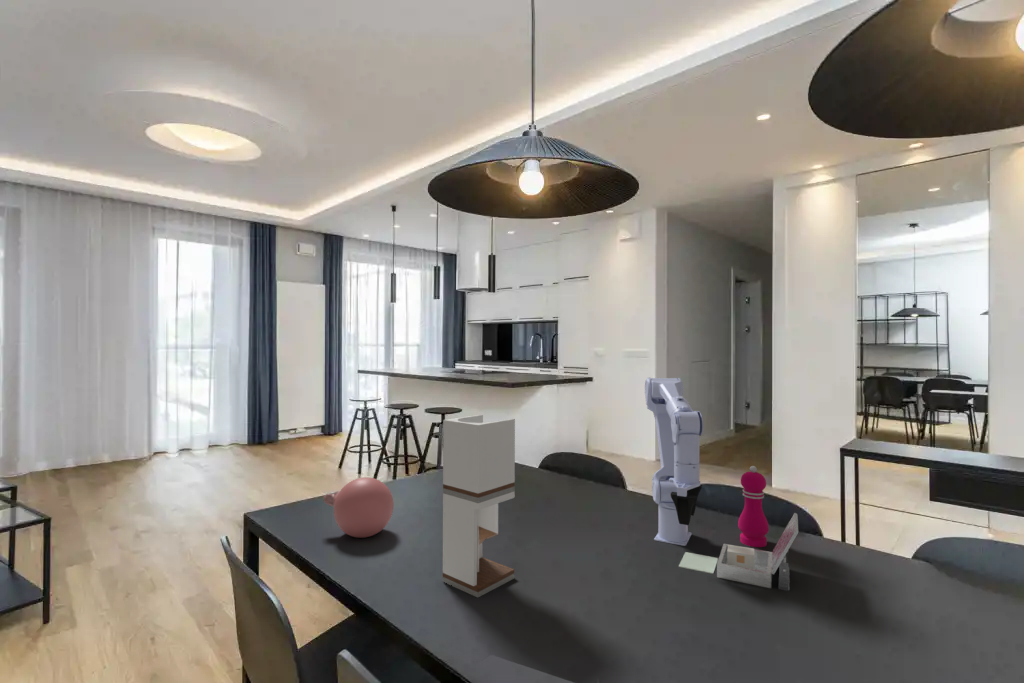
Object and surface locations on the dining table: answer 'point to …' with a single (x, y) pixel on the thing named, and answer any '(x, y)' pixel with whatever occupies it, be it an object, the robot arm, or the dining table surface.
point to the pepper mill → (753, 510)
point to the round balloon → (362, 507)
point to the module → (740, 556)
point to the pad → (698, 562)
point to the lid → (784, 543)
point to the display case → (475, 499)
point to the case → (754, 570)
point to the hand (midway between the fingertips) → (686, 519)
